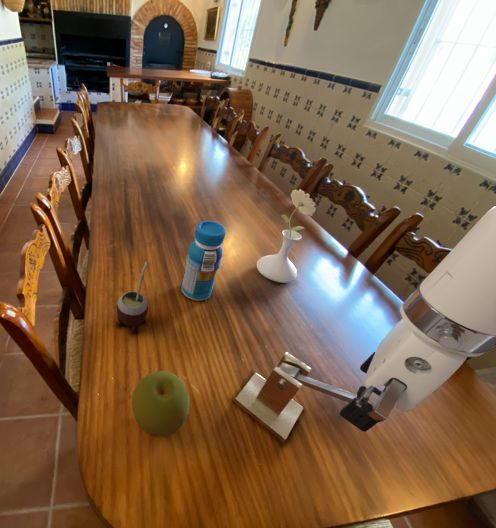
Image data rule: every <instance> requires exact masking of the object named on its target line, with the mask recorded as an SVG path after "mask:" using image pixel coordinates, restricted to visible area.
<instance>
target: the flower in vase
mask: <svg viewBox="0 0 496 528" xmlns="http://www.w3.org/2000/svg"><path fill="white" fill-rule="evenodd" d="M289 196H290V199H291V201H292V204H293V206H295V209H294V210H293V212H292V213H291V215H290V217H288V216H287V214H281V215H279V216H280V218H282V219H283V220H284V222H285V223H286V224H288V226H289V227H288V228H289V229H283V230H282V232H281V234H282V237H283V239H282V244H281V248H280V249H279V251H278V252H277V253H276V254H268V255H264V256H261V257H260V258H259V259H258V260H257V261H256V269H257V270H258V272H259V274H261V275H262V276H263V277H264V278H266V279H267V280H269V281H272V282H275V283H281V284H286V283H290V282H293V281H294V280H296V279H297V276H298V270H297V268H296V267H295V265H294V264H293V262H292V261H291V260H290V259H289V257H288V255H289V254H290V251H291V249H292V247H293V246H294V245H295V243H296V242H298V241H300V240H302V238H303V236H302V234H301V233H300V232H298V231H301V230H303V229H305V226H300V225H299V226H298V225H297V226H293V227H292V226H291V224H292V223H291V220H292V217H293V215H294V214H295V213H296V212H297V210H298V212H300V213H301V214H303V215H305V216H310V217H313V215H315V213H316V210H317V207H315V206H316V202H314V199H313V198H310V196H311V195H310V194H309V193H305V191H304V190H302V189H301V188H299V189H294V190H293V189H292V190H291V193H290V195H289Z"/></svg>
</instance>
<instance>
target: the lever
mask: <svg viewBox="0 0 496 528" xmlns="http://www.w3.org/2000/svg"><path fill="white" fill-rule="evenodd" d="M279 368H280V369H281V370H282V371H284V372H285V373H287V374H288V375H290V376H291V377H292V378H294V379H295V380H297V381H298V382H300V383H301V384H302V386H304V387H306V388H309V389H312V390H315V391H318V392H320V393H322V394H325V395H328V396H331V397H333V398H335V399H338V400H340V401H343V402H346V403H349V402H350V401H352V400H353V399H354V398H359V397H360V396H361V394H362V393H363V391H364V390H365V389H366V387H365V385H361V386H359V388H358V390H357V392H356V393H353V392H350V391H348V390H344V389H343V388H339V387H336V386H334V385H331V384H328V383H325V382H323V381H320V380H316V379H315V378H312V377H309V376H303V375H300V370H299V368H297V367H294V366H291V365H288V364H285V363H282V364H281V365H280V367H279ZM370 398H371V395H370V396H369V398H368V399H367V400H366V401H367V402H368V403H369V400H370Z"/></svg>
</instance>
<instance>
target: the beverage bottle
mask: <svg viewBox="0 0 496 528" xmlns="http://www.w3.org/2000/svg"><path fill="white" fill-rule="evenodd" d="M225 237H226V227H224V226H223V224H221V223H219V222H216V221H213V220H203V221H200V222H198V224H197V225H196V227H195V232H194V239H193V241H192V242H191V243H190V245H189V247H188V252H187V254H186V257H185V269H184V275H183V278H182V282H181V288H180V289H181V292H182V294H183V295H184V296H185V297H186V298H188V299H190V300H192V301H205V300H207V299H209V298H210V297H211V295H212V293H213V288H214V284H215V280H216V277H217V274H218V272H219V269H220V267H221V264H222V258H223V255H224V254H223V252H224V251H223V247H222V244H223V243H224V240H225Z"/></svg>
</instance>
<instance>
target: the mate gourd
mask: <svg viewBox="0 0 496 528" xmlns="http://www.w3.org/2000/svg"><path fill="white" fill-rule="evenodd" d="M148 263H149V261H148V260H146V261H145V262H144V265H143V267H142V270H141V273H140V276H139V282H138V288H137V291H134V290H133V291H132V290H131V291H127V292H125V293H123V294H122V295H121V296H120V297H119V298H118V301H117V304H116V318H117V320H118V322H117V325H118V327H124V326H127V327H130V329H131V330H130V331H131V333H132V334H133V335H134V334H137V331H136V327H138V326H139V325H141V324H143V323H144V324H145V322H146V320H145V319H146V318H147V316H148V312H149V305H148V301H147V299H146V298H145V297H144V295H143V294H142V293H141V289H142V285H143V281H144V278H145V272H146V269H147V266H148Z"/></svg>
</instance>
